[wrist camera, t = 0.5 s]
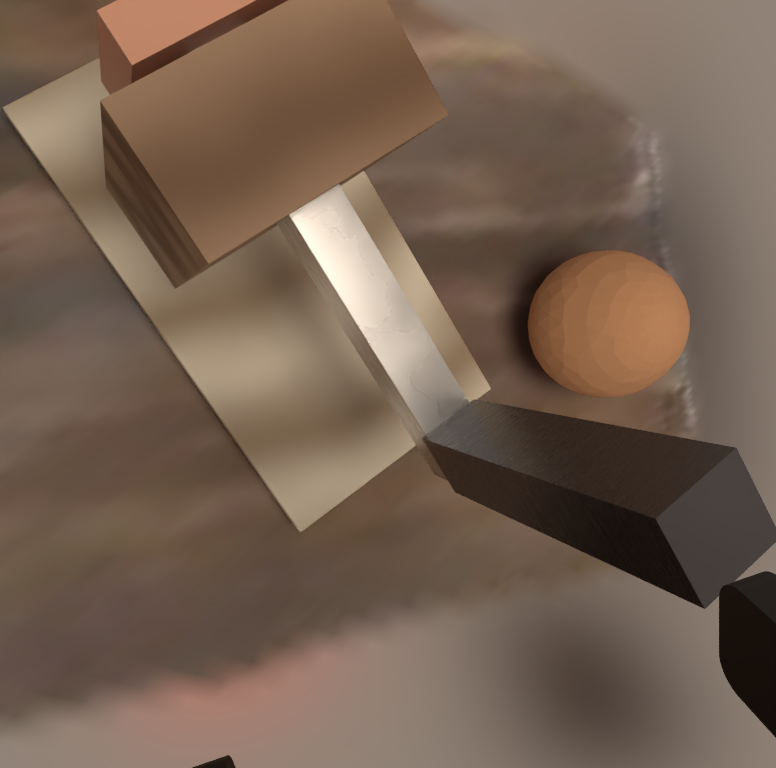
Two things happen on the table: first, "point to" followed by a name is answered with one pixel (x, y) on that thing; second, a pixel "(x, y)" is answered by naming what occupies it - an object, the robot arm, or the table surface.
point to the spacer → (163, 32)
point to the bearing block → (256, 224)
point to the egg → (608, 323)
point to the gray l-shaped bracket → (538, 437)
